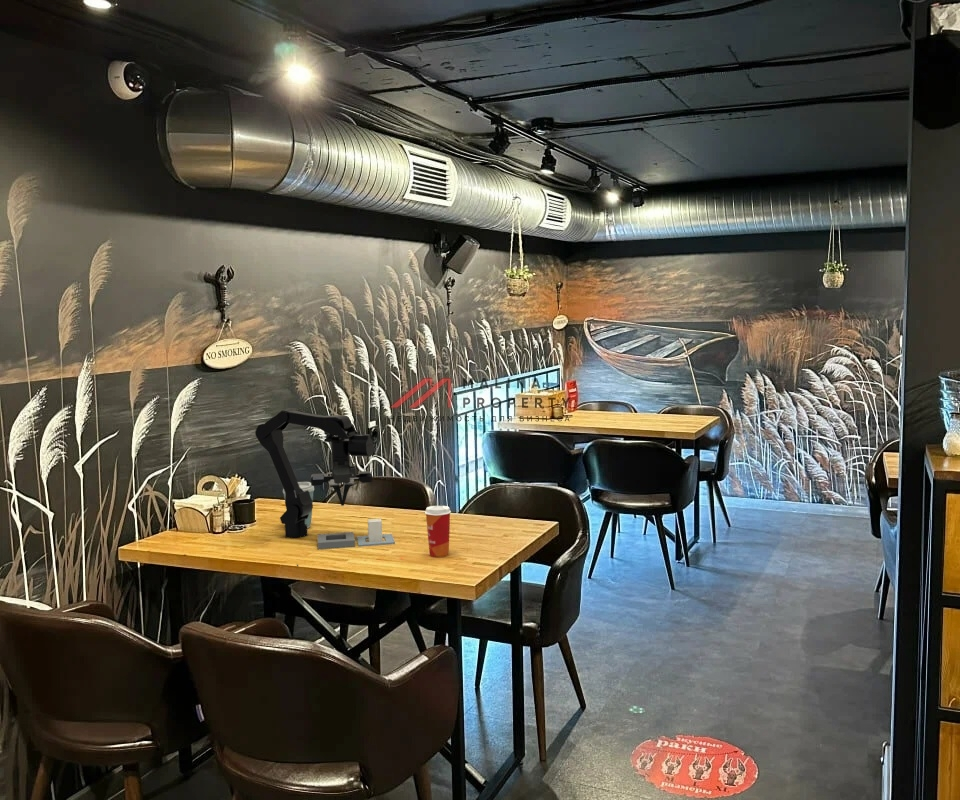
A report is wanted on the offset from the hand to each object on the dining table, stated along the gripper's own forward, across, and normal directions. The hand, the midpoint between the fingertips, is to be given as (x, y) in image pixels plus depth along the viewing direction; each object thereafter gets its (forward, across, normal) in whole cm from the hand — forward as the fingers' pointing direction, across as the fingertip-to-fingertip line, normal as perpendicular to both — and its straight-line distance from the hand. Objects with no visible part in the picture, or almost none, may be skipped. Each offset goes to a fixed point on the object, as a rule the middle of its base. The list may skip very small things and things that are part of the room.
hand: (342, 505), depth 263 cm
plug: (+12, +9, -6) cm, 16 cm away
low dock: (+12, +10, -6) cm, 16 cm away
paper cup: (+12, +27, -22) cm, 37 cm away
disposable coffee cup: (+12, -14, +26) cm, 32 cm away
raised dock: (+12, -2, -6) cm, 14 cm away
